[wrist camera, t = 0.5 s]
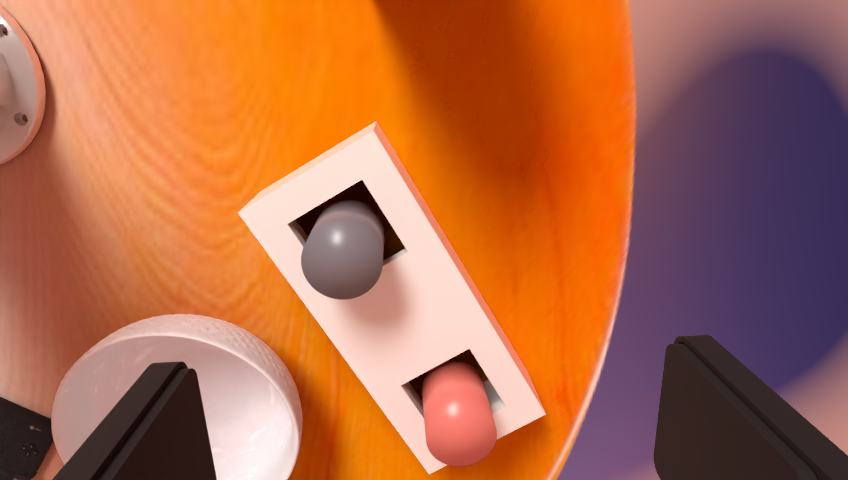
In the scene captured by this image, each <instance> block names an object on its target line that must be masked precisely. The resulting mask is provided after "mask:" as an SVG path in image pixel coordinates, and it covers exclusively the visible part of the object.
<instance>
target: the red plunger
mask: <svg viewBox="0 0 848 480" xmlns="http://www.w3.org/2000/svg"><path fill="white" fill-rule="evenodd" d="M422 400H423V412H424V424H425V435H426V444H427V447H428V450H429V451H430V453H431V454H432V455H433V457H435V458H436V459H437V460H438V461H440V462H442V463H444V464H447V465H450V466H468V465H472V464H475V463H477V462H479V461H481V460H482V459H484V458H485V457H486V456H487V455H488V454H489V453H490V452H491V451H492V449H493V448H494V446H495V443H496V440H497V430H496V426H495V422H494V418H493V415H492V411H491V408H490V404H489V401H488V397H487V393H486V390H485V386H484V383H483V379H482V377H481V375H480V373H479V372H478V371H477V370H476V369H475V368H474V367H473V366H471V365H470V364H467V363H465V362H461V361H447V362H444V363H442V364H440V365H438V366H436V367H434V368H433V369H431V370H430V371H429V372H428V373H427V375H426V376H425V378H424V380H423V383H422Z"/></svg>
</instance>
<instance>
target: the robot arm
mask: <svg viewBox="0 0 848 480" xmlns="http://www.w3.org/2000/svg"><path fill="white" fill-rule="evenodd" d="M7 30H8V33H7ZM45 101H46V90H45V81H44V75H43V71H42V68H41V65H40V62H39V58H38V56H37V54H36V52H35V50H34V48H33V46H32V44H31V42H30V40H29V38H28V37H27V35H26V34H25V33H24V31H23V30H22V28H21V27H20V26H19V24H18V23H17V21H16V20H15V19H14V18H13V17H12V16H11V15H10V14H9V13H8V12H7V11H6V10H5V9H4V8H3V7H2V6H1V5H0V164H3V163H6V162H8V161H10V160H11V159H13V158H14V157H16V156H17V155H19V154H20V153H21V152H22V151H23V150H24V149H25V148H26V147H27V146H28V145H29V144H30V143H31V142H32V140H33V139H34V137H35V135H36V133H37V132H38V130H39V128H40V126H41V122H42V119H43V116H44V112H45ZM26 116H27V118H28V120H27V118H26ZM654 464H655V468H656V471H657V473H658V475H659V477H660V479H661V480H848V456H847V455H846V454H845V453H844V452H843V451H842V450H840V449H839V448H838V447H837V446H836V445H835V444H834V443H832V442H831V441H830V440H829V439H828V438H827V437H826V436H824V435H823V434H822V433H821V432H820V431H819V430H818V429H817V428H815V427H814V426H813V425H812V424H811V423H810V422H808V421H807V420H806V419H805V418H804V417H803V416H802V415H800V414H799V413H798V412H797V411H796V410H795V409H794V408H792V407H791V406H790V405H789V404H788V403H787V402H786V401H784V400H783V399H782V398H781V397H780V396H779V395H778V394H776V393H775V392H774V391H773V390H772V389H771V388H769V387H768V386H767V385H766V384H765V383H764V382H763V381H762V380H760V379H759V378H758V377H757V376H756V375H755V374H754V373H752V372H751V371H750V370H749V369H748V368H747V367H746V366H744V365H743V364H742V363H741V362H740V361H739V360H738V359H736V358H735V357H734V356H733V355H732V354H731V353H730V352H728V351H727V350H726V349H725V348H724V347H722V345H720V344H719V343H718V342H717V341H716V340H715V339H714V338H712V337H711V336H708V335H699V336H679V337H677V338H676V340H675V342H674V344H670V345H668V347H667V349H666V354H665V362H664V371H663V380H662V388H661V397H660V405H659V414H658V423H657V431H656V440H655V448H654ZM52 480H217V478H216V472H215V467H214V462H213V456H212V451H211V446H210V440H209V435H208V430H207V425H206V419H205V414H204V409H203V403H202V398H201V393H200V387H199V382H198V377H197V373H196V371H195V369H193V368H189V369H188V367H187V365H186V364H185V363H184V362H183V361H181V362H161V363H152V364H150V365H149V366H148V367H147V368H146V370H145V371H144V372H143V373H142V374H141V376H140V377H139V378H138V379H137V380H136V381H135V383H134V384H133V385H132V386H131V387H130V389H129V390H128V391H127V392H126V393H125V394H124V396H123V397H122V398H121V399H120V400H119V402H118V403H117V404H116V405H115V406H114V407H113V409H112V410H111V411H110V412H109V413H108V415H107V416H106V417H105V418H104V419H103V420H102V422H101V423H100V424H99V425H98V426H97V427H96V429H95V430H94V431H93V432H92V433H91V435H90V436H89V437H88V438H87V439H86V440H85V442H84V443H83V444H82V445H81V446H80V448H79V449H78V450H77V451H76V452H75V453H74V455H73V456H72V457H71V458H70V459H69V461H68V462H67V463H66V464H65V465H64V466H63V468H62V469H61V470H60V471H59V472H58V474H57V475H56V476H55V477H54V478H53V479H52Z"/></svg>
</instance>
